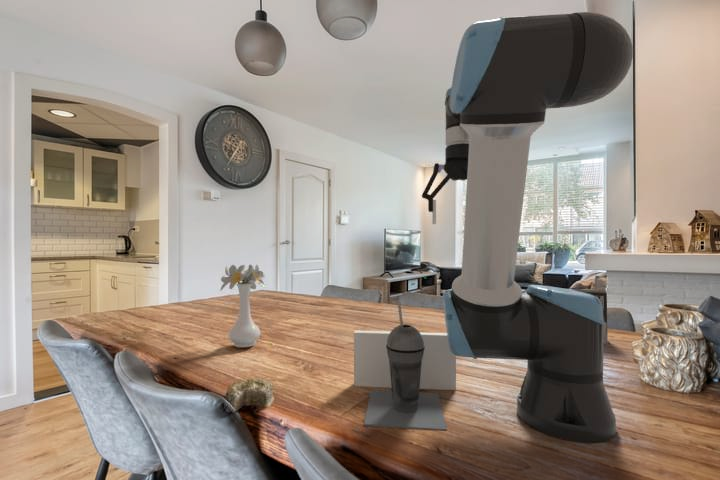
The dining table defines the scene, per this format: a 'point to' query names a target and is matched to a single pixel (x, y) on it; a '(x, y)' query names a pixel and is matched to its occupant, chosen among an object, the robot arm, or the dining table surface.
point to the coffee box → (603, 298)
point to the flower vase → (243, 303)
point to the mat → (387, 416)
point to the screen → (376, 366)
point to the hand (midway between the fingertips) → (459, 224)
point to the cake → (250, 393)
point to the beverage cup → (405, 365)
